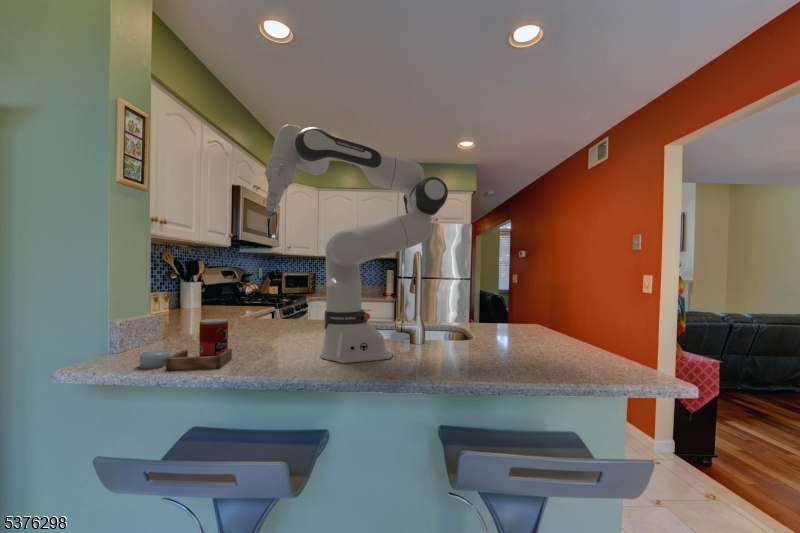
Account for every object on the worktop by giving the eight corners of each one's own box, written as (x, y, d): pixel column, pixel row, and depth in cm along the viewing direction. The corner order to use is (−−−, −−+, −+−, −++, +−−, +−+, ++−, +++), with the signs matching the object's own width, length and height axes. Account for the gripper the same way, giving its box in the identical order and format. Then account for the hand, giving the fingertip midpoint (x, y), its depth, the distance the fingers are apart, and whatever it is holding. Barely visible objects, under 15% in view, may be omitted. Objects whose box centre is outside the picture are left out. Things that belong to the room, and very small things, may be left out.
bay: (231, 358, 104) (231, 348, 104) (220, 368, 94) (220, 357, 94) (183, 360, 102) (183, 350, 102) (166, 370, 92) (166, 358, 92)
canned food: (219, 358, 104) (220, 322, 104) (193, 358, 104) (193, 321, 104) (232, 352, 111) (232, 318, 112) (208, 352, 112) (208, 318, 112)
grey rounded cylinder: (174, 361, 100) (174, 349, 100) (162, 368, 93) (162, 355, 93) (148, 362, 99) (148, 350, 99) (133, 369, 92) (134, 356, 92)
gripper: (294, 164, 101) (281, 208, 98) (287, 186, 120) (276, 224, 117) (272, 156, 99) (258, 201, 96) (268, 180, 117) (257, 218, 115)
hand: (268, 214), depth 107 cm, fingers open, 8 cm apart
